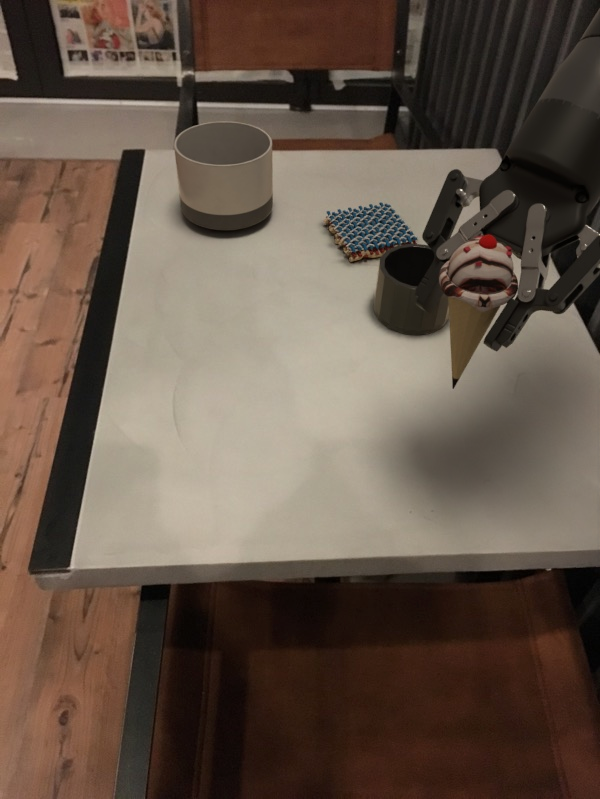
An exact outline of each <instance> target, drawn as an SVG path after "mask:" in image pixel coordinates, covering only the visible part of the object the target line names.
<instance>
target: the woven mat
mask: <svg viewBox="0 0 600 799" xmlns="http://www.w3.org/2000/svg"><path fill="white" fill-rule="evenodd" d="M378 204H379V205H376V204H374V206H373V204H372V203H369V204H368V206H369V207H367V206H364V207H363V206H362V205H358V209H357V208H353V209H352V207H347V211H346V209H344V210H341V209H340V208H339V209H337V212H335V211H332V212H331V211H330V210H326V214H327V216H326V217H325V219H324V220H323V222H324V224H326V225H329V226H328V231H329V232H331V233H332V234H334V244H335V245H337V244H338V245H339V246H340V247H343V249H342V250H343V253H345V255H346V256H348V257H349V259H348V260H349V262H350V263H352V262H355V261H361V260H362V259H363V258H370V259H371V258H372V259H374V258H381V257H382V255H383V254H384V253H385V252H386V251H387V250H389V249H391V248H393V247H395V246H399V245H406V244H418V243H419V241H420V240H419V235H416V234H415V233H414V231H413V230H412V227H411V226H408V224H407V223H406V222H405V221H404V219H403V218H401V215H399V213H398V212H396V210H395V209H394V207H393V206H392V205H391V204H388V203H383V202H379V203H378Z"/></svg>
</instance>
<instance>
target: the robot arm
mask: <svg viewBox="0 0 600 799" xmlns="http://www.w3.org/2000/svg"><path fill="white" fill-rule="evenodd" d="M552 75H553V76H552V77H551V79H550V80H549V82H548V83H547V85H546V87H545V88H544V89H543V91H542V93H541V95H540V97H539V98H538V100H537V101H536V103H535V105H534V106H533V108H532V109H531V111H530V112H529V115H528V116H527V117H526V119H525V120H524V122H523V124H522V125H521V126H520V129H519V130H518V132H517V133H516V135H515V137H514V138H513V139H512V142H511V143H510V145H509V146H508V148H507V150H506V151H505V153H504V155H503V157H502V160H501V161H500V163H499V166H498V167H497V168H496V169H495V170H494V171H493V172H492V173H491V174H490V175H488V176H486V177H485V178H484V179H483V180H482V179H478V178H473V177H469V176H465V175H464V173H463V172H462V170H460V169H458V168H455V169H452V170H450V171H449V172H448V173H447V175H446V178H445V180H444V182H443V185H442V187H441V189H440V192H439V194H438V197H437V199H436V201H435V203H434V206H433V208H432V211H431V213H430V216H429V217H428V220H427V222H426V225H425V227H424V230H423V232H422V235H421V237H422V240H423V242H424V243H426V245H428V246H429V247H430V248H431V249H432V251H433V252H434V261H433V262H432V264H431V266H430V267H429V269H428V270H427V272H426V274H425V275H424V277H423V279H422V280H421V282H420V283H419V285H418V287H417V288H416V293H415V295H416V296H417V297H418V298H417V300H416V305H417V306H419V307H420V308H421V309H423V310H424V311H426V312H428V313H431V312H432V311H433V310H434V308H435V307H436V305H437V303H438V302H439V300H440V299H441V297H442V295H443V294H444V292H443V291H442V289H441V286H440V283H439V272H440V270H441V268H442V266H443V265H444V264H445V263H446V262H448V261H449V260H450V258H451V256H452V255H453V253H454V251H455V250H456V249H457V248H458V247H459V246H460V245H461V244H463V243H465V242H466V241H468V240H471V239H474V238H475V237H476V236H480V235H482V236H485V235H492V236H493V237H495V239H496V241H498V242H499V243H501V244H502V245H503V246H504V247H506V246H509V247H510V248H512V250H511V252H512V254H513V255H514V256H515V257H516V258H517V259H519V260H520V276H519V281H518V291H517V293H516V297H514V298H513V299H512V298H511V299H510V300H509V301H508V303H506V304H505V305H504V307H503V309H502V310H501V312H500V314H498V317H497V319H496V320H495V322H494V323H493V324H492V326H491V328H490V329H489V331H487V334H486V335H485V337H484V339H483V344H484V345H485V346H486V347H487V348H489V349H491V350H492V351H495V352H499V350H500V349H501V348H502V347H504V348H506V349H507V348H509V347H510V346H511V345H513V343H515V340H516V339H517V337H518V336H519V335H520V333H521V331H522V330H523V328H524V327H525V325H526V323H527V322H528V320H529V319H530V318H531V316H532V315H533V314H534V313H536V312H538V311H545V312H551V313H553V314H555V315H562V314H564V313H566V312H567V311H568V310H569V308H570V307H571V306H572V305H573V304H574V303H575V302H576V301H577V300H578V299H579V297H580V296H582V294H584V292H585V291H587V289H588V288H589V287H590V285H591V284H592V283H594V281H595V280H596V279H597V278H598V277H599V276H600V232H598V231H596V229H594V228H592V227H590V226H589V220H590V215H591V213H592V211H593V209H594V208H595V207H596V205H597V204H598V203H599V201H600V7H599V8H598V10H597V12H596V13H595V15H594V16H593V18H592V19H591V21H590V23H589V25H588V26H587V27H586V29H585V31H584V33H583V34H582V36H581V37H580V39H579V41H578V42H577V43H576V45H575V46H574V48H573V49H572V50H571V52H570V53H569V55H567V57H566V58H565V59H564V60H563V62H562V63H561V64H560V66H559V67H558V68H557V70H556V71H555V72H554V74H552ZM476 198H479V211H478V212H476V214H474V215H473V216H472V217H470V218H469V219H468V220H467V221H465V222H464V223H463V224H461V225H460V226H459V228H458V230H457V232H456V233H455V234H453V233H454V231H455V228H456V226H457V224H458V221H459V219H460V217H461V214H462V212H463V209H464V208H466V207H470V205H471V204H472V202H473V201H474V200H475V199H476ZM452 235H453V236H452ZM577 241H579V244H578V246H577V247H576V250H575V254H576V257H577V258H576V259H575V261H573V263H572V264H570V265H569V267H567V269H566V270H565V271H564V272H563V274H562V275H560V277H559V278H558V279H557V280H556V281H555V282H554V284H553V285H552V286H551V287H550V288H549V289H547V288H545V283H546V281H547V279H548V275H549V269H550V261H551V256H552V253H554V252H556V251H558V250H560V249H563V248H564V247H567V246H569V245H570V244H573V243H575V242H577Z"/></svg>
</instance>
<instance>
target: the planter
mask: <svg viewBox="0 0 600 799" xmlns="http://www.w3.org/2000/svg"><path fill="white" fill-rule="evenodd" d="M173 150H174V159H175V168H176V176H177V186H178V194H179V202H180V203H179V204H180V210H181V213H182V215H183V216H184V217H185V218H186V220H188V221H189V222H191V223H192V224H194V225H196V226H199V227H201V228H205V229H210V230H216V231H236V230H237V231H238V230H242V229H248V228H249V227H253V226H255V225H257V224H259V223H261V222H263V221H265V219H267V217H269V216H270V214H271V213H272V210H273V207H274V191H273V189H274V188H273V187H274V185H273V184H274V179H273V178H274V175H273V174H274V173H273V172H274V171H273V170H274V168H273V164H274V163H273V159H274V158H273V139H272V137H271V136H270V134H269V133H268V132H267V131H265V130H264V129H262V128H260V127H259V126H256V125H253V124H249V123H245V122H239V121H230V120H224V121H222V120H221V121H219V120H218V121H209V122H204V123H203V122H202V123H200V124H199V123H198V124H197V125H193V126H190V127H188V128H186V129H184V130H183V131H181V132H180V133H179V134H178V135H177V136H176V137H175V138H174V142H173Z"/></svg>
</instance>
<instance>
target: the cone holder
mask: <svg viewBox="0 0 600 799" xmlns="http://www.w3.org/2000/svg"><path fill="white" fill-rule="evenodd" d="M433 261H434V252H433V251H432V249H431V248H430V247H429V246H428V245H427V244H420V243H417V244H406V245H399V246H395V247H393V248H391V249H389V250H387V251H386V252H385V253H384V254H383V255H382V256H381V257H379V262H378V269H377V278H376V284H375V285H376V286H375V292H374V302H373V312H374V314H375V316H376V318H377V320H378V321H379V322H380V323H381V324H383V326H385V327H386V328H388V329H390V330H392V331H395V332H397V333H400V334H403V335H404V334H405V335H411V336H422V335H429V334H431V333H435V332H436V331H439V330H440V329H442V328H443V327H444V326H445V325H446V323H447V322H448V321H449V303H448V296H446V295H445V294H443V295H442V297H441V299H440V300H439V302H438V303H437V305H436V307H435V308H434V310H433V311H432V312H431V313H428V312H426V311H424V310H423V309H421V308H420V307H419V306H417V305H416V300H417V298H418V297H417V296H416V295H415V293H416V288H417V287H418V285H419V283H420V282H421V280H422V279H423V277H424V275H425V274H426V272H427V270H428V269H429V267H430V266H431V264H432V262H433Z"/></svg>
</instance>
